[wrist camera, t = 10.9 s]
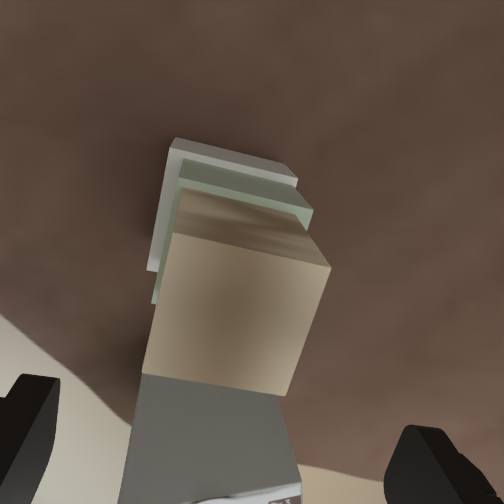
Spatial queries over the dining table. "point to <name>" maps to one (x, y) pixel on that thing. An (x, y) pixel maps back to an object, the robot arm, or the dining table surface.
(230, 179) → the sage block
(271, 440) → the skincare box
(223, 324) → the beige metal block
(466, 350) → the dining table surface
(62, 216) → the dining table surface
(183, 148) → the grey base block
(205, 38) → the dining table surface
